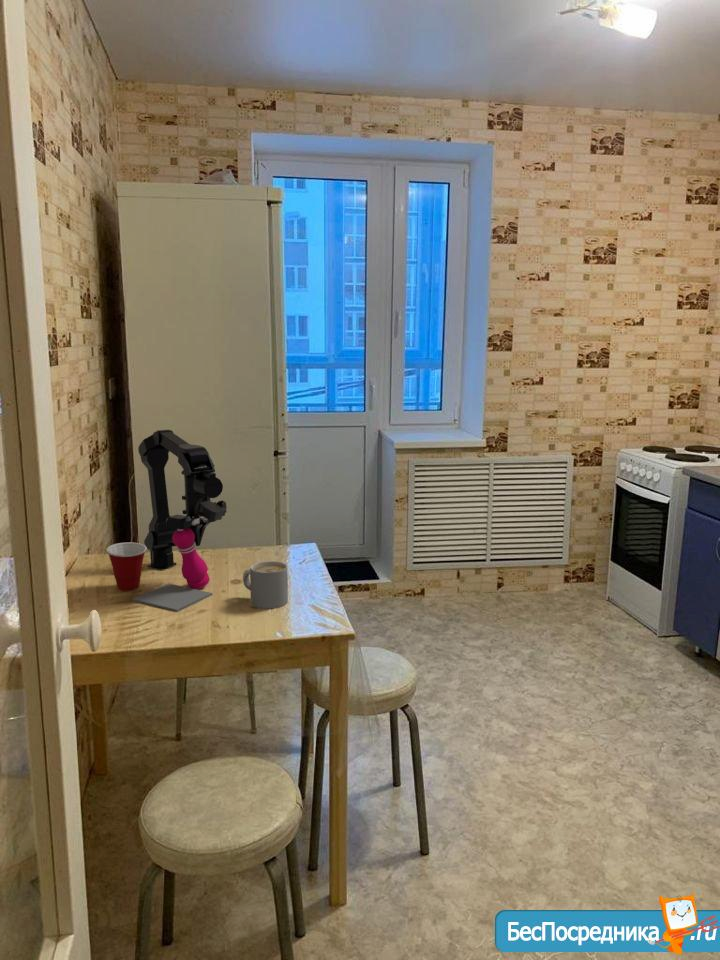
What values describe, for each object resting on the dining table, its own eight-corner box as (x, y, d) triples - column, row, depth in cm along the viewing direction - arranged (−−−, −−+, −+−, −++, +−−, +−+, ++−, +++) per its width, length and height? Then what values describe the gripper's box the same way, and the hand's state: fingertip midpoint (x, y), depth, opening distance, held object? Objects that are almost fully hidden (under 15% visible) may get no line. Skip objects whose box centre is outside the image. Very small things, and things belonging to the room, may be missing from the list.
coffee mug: (295, 601, 189) (295, 566, 187) (267, 611, 182) (267, 575, 180) (262, 589, 198) (262, 556, 196) (235, 599, 191) (234, 564, 189)
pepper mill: (215, 574, 202) (196, 518, 192) (204, 591, 196) (185, 533, 186) (193, 573, 204) (173, 517, 194) (182, 590, 198) (161, 532, 188)
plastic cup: (124, 597, 191) (121, 555, 189) (101, 589, 197) (98, 548, 195) (156, 586, 200) (154, 546, 197) (133, 578, 206) (131, 539, 204)
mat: (132, 600, 189) (132, 598, 188) (168, 585, 201) (168, 583, 201) (177, 611, 181) (177, 609, 181) (212, 595, 193) (212, 593, 193)
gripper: (195, 501, 183) (197, 558, 186) (239, 489, 199) (240, 541, 202) (163, 497, 188) (166, 552, 191) (208, 485, 204) (210, 536, 207)
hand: (197, 545), depth 198 cm, fingers closed
